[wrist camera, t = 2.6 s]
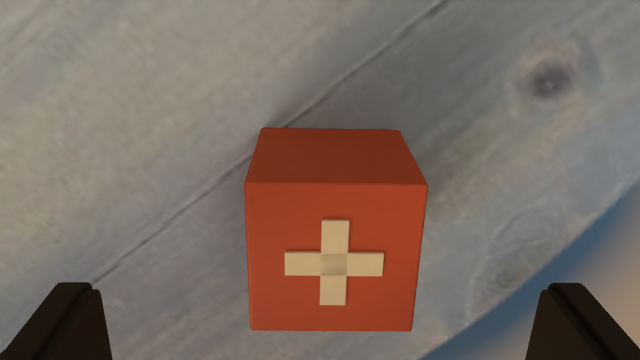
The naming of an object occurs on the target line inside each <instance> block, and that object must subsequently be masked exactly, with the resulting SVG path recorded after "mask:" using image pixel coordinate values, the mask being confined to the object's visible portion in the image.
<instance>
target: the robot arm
mask: <svg viewBox="0 0 640 360" xmlns="http://www.w3.org/2000/svg"><path fill="white" fill-rule="evenodd" d="M0 360H112V354H111V348H110V343H109V337H108V332H107V326H106V320H105V315H104V309H103V304H102V298H101V294H100V291H99V290H97V289H92V286H91V285H90V283H88V282H61V283H58V284H57V285H56V286H55V287H54V288H53V290H52V291H51V292H50V293H49V295H48V296H47V297H46V298H45V300H44V301H43V302H42V304H41V305H40V306H39V307H38V309H37V310H36V311H35V312H34V314H33V315H32V316H31V318H30V319H29V320H28V321H27V323H26V324H25V325H24V326H23V328H22V329H21V330H20V331H19V333H18V334H17V335H16V337H15V338H14V339H13V340H12V342H11V343H10V344H9V345H8V347H7V348H6V349H5V350H4V351H3V352H2V353H1V354H0ZM525 360H640V349H639V348H638V346H637V345H636V344H635V343H634V342H633V341H632V340H631V338H630V337H629V336H628V335H627V334H626V333H625V332H624V330H623V329H622V328H621V327H620V326H619V325H618V324H617V323H616V321H615V320H614V319H613V318H612V317H611V316H610V315H609V313H608V312H607V311H606V310H605V309H604V308H603V307H602V306H601V304H600V303H599V302H598V301H597V300H596V299H595V298H594V296H593V295H592V294H591V293H590V292H589V291H588V290H587V289H586V287H584V286H583V285H582V284H580V283H552V284H550V286H549V287H548V290H543V291H542V292H541V294H540V297H539V302H538V306H537V310H536V314H535V319H534V324H533V328H532V332H531V336H530V341H529V345H528V350H527V354H526V358H525Z"/></svg>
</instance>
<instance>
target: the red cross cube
mask: <svg viewBox="0 0 640 360" xmlns="http://www.w3.org/2000/svg"><path fill="white" fill-rule="evenodd" d="M244 192H245V216H246V240H247V263H248V287H249V311H250V328H251V330H273V331H404V332H409V331H411V329H412V323H413V314H414V306H415V297H416V288H417V279H418V271H419V262H420V253H421V245H422V236H423V227H424V218H425V210H426V201H427V192H428V184H427V182H426V180H425V179H424V177H423V175H422V173H421V171H420V169H419V167H418V165H417V163H416V162H415V160H414V158H413V156H412V154H411V152H410V150H409V148H408V146H407V144H406V143H405V141H404V139H403V137H402V135H401V133H400V131H398V130H360V129H297V128H262V129H261V132H260V135H259V138H258V142H257V145H256V148H255V151H254V154H253V157H252V161H251V164H250V167H249V170H248V173H247V176H246V180H245V183H244Z"/></svg>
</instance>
